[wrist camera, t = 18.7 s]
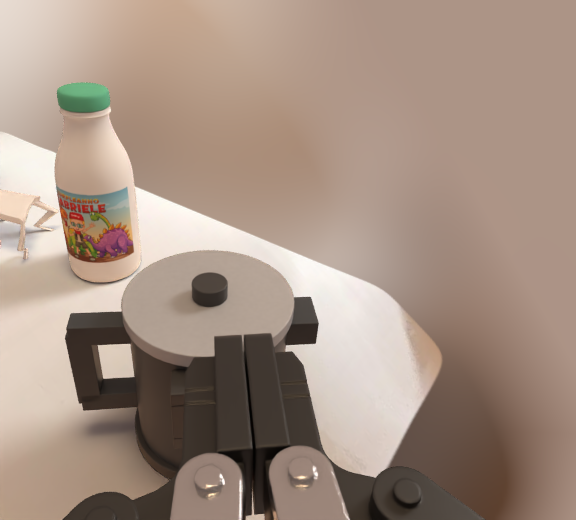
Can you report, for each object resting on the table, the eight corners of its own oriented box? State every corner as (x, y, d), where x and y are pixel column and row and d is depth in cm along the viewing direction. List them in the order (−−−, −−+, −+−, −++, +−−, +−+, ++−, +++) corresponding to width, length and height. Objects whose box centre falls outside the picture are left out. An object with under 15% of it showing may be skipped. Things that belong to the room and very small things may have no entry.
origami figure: (79, 235, 64) (73, 200, 62) (20, 266, 58) (10, 228, 55) (14, 206, 69) (6, 172, 66) (-48, 233, 63) (-60, 196, 60)
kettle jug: (317, 493, 38) (343, 352, 30) (70, 517, 35) (29, 368, 28) (289, 364, 49) (304, 234, 41) (98, 374, 46) (74, 237, 38)
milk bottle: (86, 243, 63) (58, 73, 52) (149, 249, 63) (135, 80, 52) (59, 281, 57) (21, 96, 45) (130, 287, 57) (110, 104, 46)
